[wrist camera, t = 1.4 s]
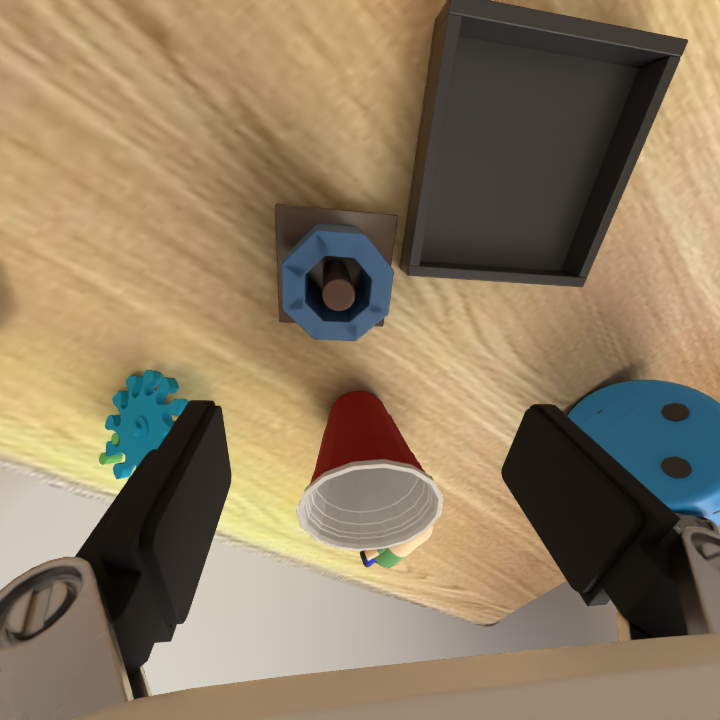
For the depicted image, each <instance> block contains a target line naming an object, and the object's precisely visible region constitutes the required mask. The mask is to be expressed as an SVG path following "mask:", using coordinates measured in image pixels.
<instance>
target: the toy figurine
mask: <svg viewBox="0 0 720 720" xmlns="http://www.w3.org/2000/svg"><path fill="white" fill-rule="evenodd" d="M432 531H433V525H432V526H431V527H430V528H429V529H428V530H427V531H425V532H424V533H422V534H420V535H419V536H417V537H415V538H414V539H412V540H410V541H408V542H405V543H402V544H398V545H395V546H392V547H389V548H385V549H375V550H364V551H361V552H360V556H361V559H362V561H363V564H364V565H365V566H366V567H369V566H371V565H372V564H373V563H374V562H375V563H378V564H379V565H380V566H382V567H384V568H391V567H392V566H394V565H395V564H396V563H397V562H399V561H400V560H401V559H403V558H404V557H405V556H406V555H408V554H409V553H410V552H412V551H413V550H414V549H415V548H417V547H418V546H419V545H420V544H422V543H423V542H424V541H425V540H427V539H428V538H429V537H430V535H431V534H432Z"/></svg>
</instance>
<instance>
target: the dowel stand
mask: <svg viewBox="0 0 720 720" xmlns="http://www.w3.org/2000/svg"><path fill="white" fill-rule="evenodd" d="M397 217H398V216H397V215H395V214H384V213H373V212H362V211H352V210H341V209H330V208H319V207H308V206H298V205H287V204H275V218H276V245H277V272H278V298H279V322H286V323H297V322H296V321H294V320H293V319H292V318H291V317H290V316H289V315H288V314H287V313H286V312H285V311H284V310H283V293H282V263H283V261H284V260H285V258H286V256H287V255H288V253H289V251H290V250H291V248H292V247H293V246H295V245H296V244H297V243H298V242H299V241H300V240H301V239H302V238H303V237H304V236H305V235H306V234H307V233H308V232H309V231H310V230H311V229H312V228H313V227H314V226H315V225H316V224H318V223H325V224H336V225H348V226H356V227H358V228H359V229H360V230H361V231H362V232H363V233H364V234H365V235H366V236H367V237H368V238H369V239H370V241H371V242H372V243H373V245H374V246H375V247H376V248H377V250H378V251H379V252H380V254H381V255H382V256H383V258H384V259H385V260H386V261H387V263H388V264H389V265H390V267H391V263H392V255H393V248H394V240H395V232H396V225H397ZM361 270H362V267H361V266H360V264H359V263H358V262H357V261H356V260H355V258H350V257H337V256H325V257H323V258H322V259H321V260H320V261H319V262H318V263H317V264H316V265H315V266H314V267H313V268H312V269H311V270H310V271H308V282H309V283H310V284H311V285H312V286H313V287H314V288H315V289H316V290H317V291H318V292H319V293H320V294H321V295H322V297H323V301H324V303H325V304H326V306H327V307H329V308H330V309H332V310H335V311H342V310H345V309H347V308H349V307H350V306H351V305H352V303H353V302H354V299H355V291H354V290H355V289H356V288H357V287H358V286H359V285H360V282H361ZM383 324H384V318H383V319H382V320H381V321H379V322H378V323H377V324H376V325H375V326H382V327H383Z"/></svg>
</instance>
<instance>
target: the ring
mask: <svg viewBox="0 0 720 720" xmlns="http://www.w3.org/2000/svg"><path fill="white" fill-rule="evenodd" d="M325 256H337V257H350V258H355V260H356V261H357V262H358V263H359V264H360V266H361V267H362V270H361V282H360V285H359V286H358V287H357V288H356V289H355V290H354V291H355V299H354V302H353V303H352V305H351V306H350V307H349V308H347V309H345V310H342V311H335V310H332V309H330V308H329V307H327V306H326V304H325V303H324V301H323V297H322V295H321V294H320V293H319V292H318V291H317V290H316V289H315V288H314V287H313V286H312V285H311V284H310V283H309V282H308V271H310V270H311V269H312V268H313V267H314V266H315V265H316V264H317V263H318V262H319V261H320V260H321V259H322V258H323V257H325ZM393 275H394V272H393V269H392V268H391V267H390V265H389V264H388V263H387V261H386V260H385V259H384V258H383V256H382V255H381V254H380V252H379V251H378V250H377V248H376V247H375V246H374V245H373V243H372V242H371V241H370V239H369V238H368V237H367V236H366V235H365V234H364V233H363V232H362V231H361V230H360V229H359V228H358V227H356V226H348V225H336V224H325V223H318V224H316V225H315V226H314V227H313V228H312V229H311V230H310V231H309V232H308V233H307V234H306V235H305V236H304V237H303V238H302V239H301V240H300V241H299V242H298V243H297V244H296V245H295V246H293V247H292V248H291V250H290V251H289V253H288V255H287V256H286V258H285V260H284V261H283V263H282V293H283V310H284V311H285V312H286V313H287V314H288V315H289V316H290V317H291V318H292V319H293V320H294V321H296V322H297V323H298V324H299V325H300V326H301V327H302V328H303V329H304V330H305V331H306V332H307V333H308V334H309V335H310V336H311V337H312V338H313V339H317V340H346V341H356V340H357V339H359V338H360V337H361V336H362V335H364V334H365V333H366V332H367V331H368V330H370V329H371V328H372V327H373V326H375V325H376V324H377V323H378V322H379V321H381V320H382V319H383V318H384V317H386V316H387V315H388V312H389V304H390V297H391V290H392V282H393Z"/></svg>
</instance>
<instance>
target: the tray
mask: <svg viewBox="0 0 720 720" xmlns="http://www.w3.org/2000/svg"><path fill="white" fill-rule="evenodd" d="M687 43H688V40H687V39H682V38H676V37H671V36H666V35H661V34H656V33H651V32H646V31H641V30H636V29H631V28H626V27H621V26H616V25H611V24H606V23H601V22H595V21H590V20H585V19H580V18H575V17H570V16H565V15H560V14H555V13H550V12H545V11H540V10H535V9H530V8H525V7H520V6H515V5H509V4H504V3H499V2H494V1H489V0H447V2H446V4H445V5H444V7H443V8H442V10H441V11H440V13H439V15H438V16H437V17H436V19H435V25H434V32H433V39H432V46H431V53H430V60H429V67H428V74H427V81H426V88H425V95H424V102H423V109H422V116H421V123H420V130H419V137H418V144H417V151H416V158H415V165H414V172H413V179H412V186H411V193H410V200H409V207H408V214H407V221H406V228H405V235H404V242H403V248H402V255H401V262H400V269H401V270H402V271H403V272H405V273H406V274H407V275H408V276H420V277H435V278H451V279H466V280H481V281H497V282H512V283H527V284H542V285H558V286H573V287H583V286H584V284H585V281H586V279H587V278H586V277H588V274H589V272H590V270H591V267H592V265H593V263H594V260H595V258H596V256H597V253H598V251H599V248H600V246H601V244H602V241H603V239H604V237H605V234H606V232H607V230H608V227H609V225H610V223H611V220H612V218H613V216H614V213H615V211H616V209H617V206H618V204H619V202H620V199H621V197H622V195H623V192H624V190H625V188H626V185H627V183H628V181H629V178H630V176H631V174H632V171H633V169H634V166H635V164H636V162H637V159H638V157H639V155H640V152H641V150H642V148H643V145H644V143H645V141H646V138H647V136H648V134H649V131H650V129H651V127H652V124H653V122H654V120H655V117H656V115H657V113H658V110H659V108H660V106H661V103H662V101H663V99H664V96H665V94H666V92H667V89H668V87H669V84H670V82H671V80H672V77H673V75H674V73H675V70H676V68H677V66H678V63H679V61H680V57H681V56H682V54H683V52H684V50H685V47H686V45H687Z"/></svg>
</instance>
